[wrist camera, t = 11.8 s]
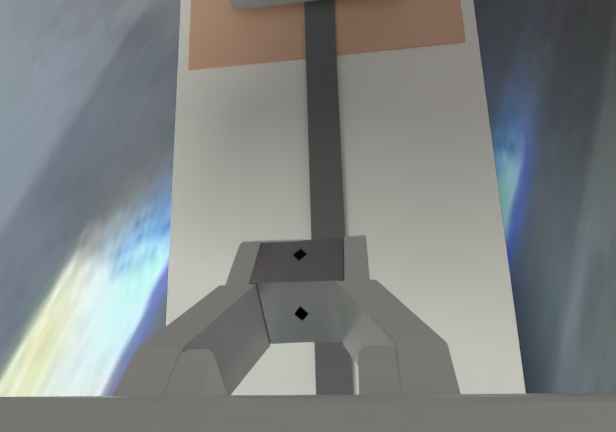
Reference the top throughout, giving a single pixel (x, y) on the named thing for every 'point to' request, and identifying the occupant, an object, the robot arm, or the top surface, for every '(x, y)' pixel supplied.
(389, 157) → the fader console
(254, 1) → the fader knob
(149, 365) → the robot arm
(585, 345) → the top surface
